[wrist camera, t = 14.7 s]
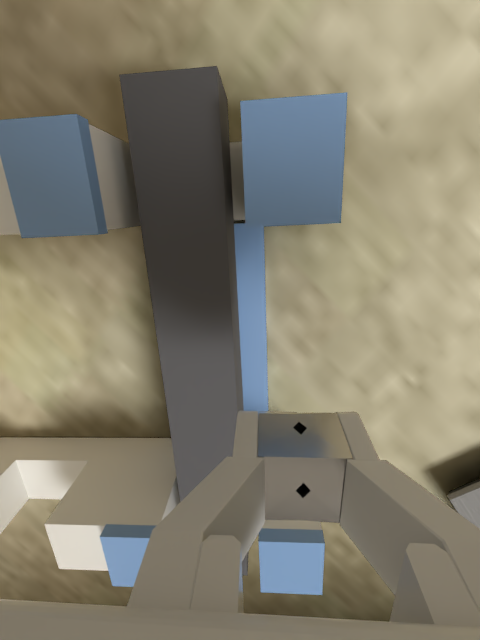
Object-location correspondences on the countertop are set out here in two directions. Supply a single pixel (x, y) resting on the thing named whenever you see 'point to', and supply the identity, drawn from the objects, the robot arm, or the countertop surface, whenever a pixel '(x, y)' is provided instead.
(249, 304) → the slotted rod rack
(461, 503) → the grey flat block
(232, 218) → the dark grey square rod
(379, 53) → the countertop surface
